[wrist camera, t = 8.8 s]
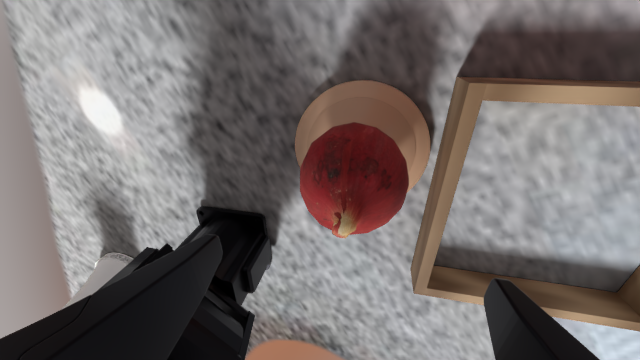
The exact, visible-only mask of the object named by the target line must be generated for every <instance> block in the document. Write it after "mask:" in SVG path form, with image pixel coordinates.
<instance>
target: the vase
mask: <svg viewBox="0 0 640 360" xmlns="http://www.w3.org/2000/svg"><path fill="white" fill-rule="evenodd" d="M133 259H134V258H132V257H130V256H127V255H124V254H121V253H114V252H112V253H107V254H105V255H104V256H103V257H102V258H101V259H99V260H98V261H97V262H96V263H95V269H94V271H93V273H92V274H91V276H90V277H89V278H88V280H87V281H86V283H85V284H84V285H83V286H82V288H81V289H80V290H79V291H78V292H77V293H76V295H75V296H74V297H73V298H72V299H71V300H70V301H69V302H68V303H67V304H66V305H65V306H64V307H63V308H62V309H64V308H66V307H67V306H69V305H71V304H73V303H75V302H77V301H79V300H81V299H83V298H85V297H87V296H89V295H92V294H93V293H94V292H96V291H97V290H99V289H100V288H101V287H102V286H103V285H104V284H105V283H107V282H108V281H109V280H110V279H111V278H112V277H114V276H115V275H116V274H117V273H118V272H119V271H121V270H122V269H123V268H124V267H125V266H126V265H128V264H129V263H130V262H131V261H132V260H133ZM62 309H61V310H62Z"/></svg>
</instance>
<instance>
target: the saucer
mask: <svg viewBox="0 0 640 360" xmlns="http://www.w3.org/2000/svg"><path fill="white" fill-rule="evenodd" d="M352 122H357V123H361V124H365V125H369V126H373V127H377V128H378V129H380V130H381V131H382V132H384V133H385V134H387V135H388V136H389V137H391V138H392V139H393V140H394V141H395V143H396V144H397V146H398V147H399V149H400V151H401V153H402V154H403V156H404V158H405V159H406V162H407V169H408V175H409V187H408V190H407V192H408V191H409V190H410V189H411V188H412V187H413V186H414V185H415V184H416V183H417V182H418V181H419V179H420V177H421V176H422V174H423V173H424V170H425V168H426V166H427V163H428V159H429V155H430V135H429V130H428V127H427V124H426V121H425V119H424V117H423V115H422V113H421V112H420V110H419V109H418V107H417V106H416V104H415V103H414V102H413V101H412V100H411V99H410V98H409V97H408V96H407V95H406V94H404V93H403V92H402V91H400V90H398V89H397V88H395V87H393V86H391V85H388V84H386V83H382V82H378V81H373V80H353V81H348V82H344V83H341V84H338V85H336V86H334V87H332V88H330V89H328V90H326V91H325V92H323V93H322V94H321V95H320V96H319V97H317V98H316V99H315V100H314V101H313V102H312V103H311V104H310V105H309V107H308V108H307V109H306V111H305V112H304V114H303V115H302V117H301V119H300V122H299V124H298V127H297V131H296V136H295V152H296V158H297V162H298V165H299V167H300V168H301V165H302V162H303V160H304V158H305V156H306V154H307V152H308V149H309V147H310V145H311V143H312V142H313V141H315V140H316V139H317V138H319V137H320V136H321V135H322V134H324V133H325V132H326V131H328V130H329V129H330V128H332V127H334V126H339V125H343V124H348V123H352Z"/></svg>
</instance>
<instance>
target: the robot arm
mask: <svg viewBox="0 0 640 360" xmlns="http://www.w3.org/2000/svg"><path fill="white" fill-rule="evenodd" d="M197 216H198V220H199V223H200V225H199V226H198V227H197V228H196V229H195V230H194V231H193V232H192V233H191V234H190V235H189V236H188V237H187V238H186V239H185V240H184V241H183V242H182V243H181V244H180V246H179V247H178V248H177V249H176V250H175V251H174V250H173V249H172V247H171V246H170V245H169V244H168V243H167V244H165V245H164V246H163V247H162V248H161V249H160V250H158V249H153V248H149V247H147V248H146V249H145V250H143V251H142V252H141V253H140V254H139V255H138V256H137V257H136V258H134V259H133V260H132V261H131V262H130V263H129V264H128V265H126V266H125V267H124V268H123V269H122V270H121V271H119V272H118V273H117V274H116V275H115V276H114V277H112V278H111V279H110V280H109V281H108V282H107V283H105V284H104V285H103V286H102V287H101V288H100V289H99V290H97V291H96V292H94V293H93V294H92V295H89V296H87V297H85V298H83V299H81V300H79V301H77V302H75V303H73V304H71V305H69V306H67V307H66V308H64V309H62V310H60V311H58V312H56V313H54V314H52V315H50V316H48V317H45V318H43V319H41V320H39V321H37V322H35V323H33V324H31V325H29V326H27V327H25V328H23V329H20V330H18V331H16V332H14V333H12V334H9V335H7V336H5V337H3V338H1V339H0V360H245V356H246V351H247V347H248V343H249V339H250V334H251V330H252V326H253V322H254V317H255V315H254V314H252V313H251V312H250V311H247V310H246V309H244V308H243V307H242V306H241V305H242V303H243V301H244V299H245V298H246V296H247V294H248V293H253V292H254V291H255V290H256V288H257V286H258V284H259V282H260V280H261V278H262V276H263V274H264V272H265V270H267V269H269V267H270V265H271V262H270V260H271V257H272V256H271V248H270V239H269V237H268V236H267V230H266V222H265V217H264V216H263V215H262V214H258V213H250V212H243V211H235V210H227V209H219V208H212V207H204V206H201V207H200V208H198V209H197ZM258 219H260V220H258ZM484 307H485V312H486V317H487V321H488V326H489V331H490V336H491V341H492V346H493V350H494V355H495V359H496V360H599V359H598V358H597V357H596V356H595V355H594V354H593V353H591V352H590V351H589V350H588V349H587V348H586V347H585V346H584V345H582V344H581V343H580V342H579V341H578V340H577V339H576V338H575V337H573V336H572V335H571V334H570V333H569V332H568V331H567V330H566V329H564V328H563V327H562V326H561V325H560V324H559V323H558V322H557V321H555V320H554V319H553V318H552V317H551V316H550V315H549V314H547V313H546V312H545V311H544V310H543V309H542V308H541V307H540V306H538V305H537V304H536V303H535V302H534V301H533V300H532V299H531V298H529V297H528V296H527V295H526V294H525V293H524V292H523V291H522V290H520V289H519V288H518V287H517V286H516V285H515V284H514V283H513V282H511V281H510V280H507V279H501V278H493V279H492V280H491V282H490V284H489V286H488V288H487V290H486V292H485V294H484Z"/></svg>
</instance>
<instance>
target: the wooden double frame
mask: <svg viewBox="0 0 640 360" xmlns="http://www.w3.org/2000/svg"><path fill="white" fill-rule="evenodd" d="M482 100H487V101H512V102H537V103H562V104H587V105H613V106H638V107H640V81H602V80H562V79H523V78H483V77H456V81H455V85H454V90H453V94H452V98H451V102H450V106H449V111H448V115H447V119H446V123H445V127H444V131H443V136H442V140H441V144H440V148H439V152H438V156H437V161H436V165H435V169H434V173H433V177H432V181H431V186H430V190H429V194H428V198H427V202H426V207H425V211H424V215H423V219H422V223H421V227H420V232H419V236H418V240H417V244H416V248H415V252H414V257H413V261H412V265H411V276H412V284H413V291H414V294H420V295H426V296H432V297H438V298H444V299H450V300H456V301H462V302H468V303H474V304H480V305H484V294H485V292H486V290H487V288H488V286H489V284H490V282H491V280H492V279H493V278H501V279H507V280H510V281H511V282H513V283H514V284H515V285H516V286H517V287H518V288H519V289H520V290H522V291H523V292H524V293H525V294H526V295H527V296H528V297H529V298H531V299H532V300H533V301H534V302H535V303H536V304H537V305H538V306H540V307H541V308H542V309H543V310H544V311H545V312H546V313H547V314H549V315H550V316H551V317H557V318H563V319H569V320H575V321H581V322H587V323H593V324H599V325H605V326H611V327H617V328H623V329H629V330H635V331H640V266H639V267H638V268H637V269H636V270H635V272H634V273H633V274H632V275H631V276H630V278H629V279H628V280H627V281H626V282H625V284H624V285H623V286H622V287H621V289H620V290H619V291H618V292H617V293H616V292H610V291H603V290H596V289H589V288H583V287H576V286H569V285H562V284H555V283H549V282H542V281H535V280H528V279H522V278H515V277H508V276H501V275H495V274H488V273H481V272H474V271H467V270H461V269H454V268H447V267H440V266H434V262H435V258H436V255H437V251H438V248H439V245H440V241H441V238H442V235H443V231H444V228H445V224H446V221H447V218H448V214H449V211H450V208H451V204H452V201H453V197H454V194H455V191H456V187H457V184H458V181H459V177H460V174H461V170H462V167H463V164H464V160H465V157H466V154H467V150H468V147H469V143H470V140H471V137H472V133H473V130H474V127H475V123H476V120H477V116H478V113H479V110H480V106H481V103H482Z"/></svg>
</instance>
